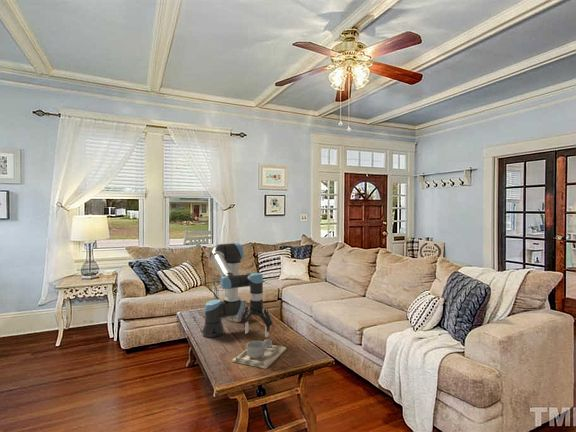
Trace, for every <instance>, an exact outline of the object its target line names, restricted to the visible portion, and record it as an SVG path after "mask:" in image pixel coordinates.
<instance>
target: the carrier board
mask: <svg viewBox="0 0 576 432" xmlns="http://www.w3.org/2000/svg"><path fill="white" fill-rule="evenodd" d="M264 341H267V342H268V347H267V348H266V349H265V352H264V355H263V356H262V357H261V358H259V359H252V358H250V357H249V356H248V354H247V348H245V349H244V350H243V351H242V352H241V353H240V354H238V355H237V356H236V357H234V358H233V359H232V363H237V364H240V365H246V366H250V367H256V368H260V369H267V368H268V367H270V365H272V363H273V362H275V361H276V360H277V359H278V358H279V357H280V356H281V355H282V354H283V353H284V352H285V351H287V347H285V346H281V345H275V344H273V342H272V339H271V338H267V339H264V340H263V342H264ZM264 346H266V343H265V344H264Z"/></svg>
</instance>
